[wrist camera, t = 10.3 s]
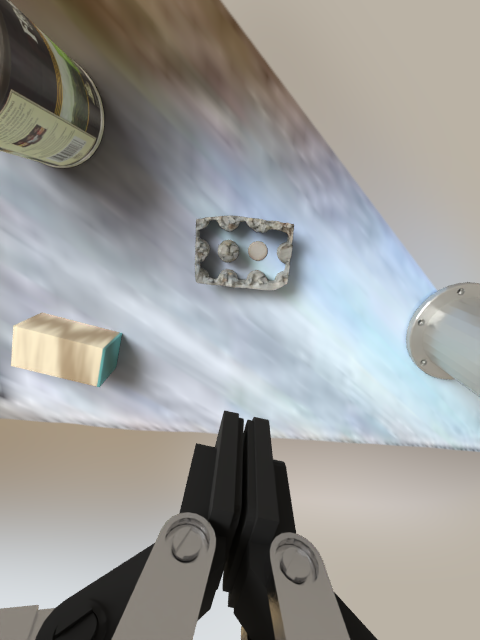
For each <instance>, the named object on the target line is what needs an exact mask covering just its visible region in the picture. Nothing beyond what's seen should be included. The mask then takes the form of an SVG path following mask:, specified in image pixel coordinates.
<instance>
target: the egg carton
mask: <svg viewBox="0 0 480 640" xmlns="http://www.w3.org/2000/svg"><path fill="white" fill-rule="evenodd" d="M212 220H217V222H218V223H219V225H220V227H221V228H222V229H224V230H226V231H233V230H235V229H236V228H237V227H238V225H239V223H240V222H244V221H246V223H247V224H248V226H249V227H250V228H252V229H253V230H254V231H256V232H261V233H265V232H267V231H268V230H269V229H274V230H279V231H283V232H285V233H287V234H288V240H287V242H285V243H282V244H281V245H280V246H279V247H278V249H277V256H278V258H279V259H280V260H281V261H282V262H283V263H285V264H286V265H285V270H284V271H282V272H280V273H278V274H277V275H276V277H275V280H274V281H269V280H267V278H266V276H265V274H264V273H263V272H261V271H259V270H254V271H252V272H250V273H249V274H248V276H247V279H245V280H243V279H238V278H237V274H236V273H235V272H234V271H233V270H230V269H225V270H223V271H221V273H220V274H219V276H218V278H210V277H209V273H208V272H207V271H206V270H205V269H203V268H201V267H200V263H201V262H203V261H204V260H205V258H206V257H207V256H208V254H209V252H210V247H209V244H208V243H207V242H206V241H205V240H203V239H200V230H201V229H204V228H205V227H207V226H208V224H209V222H210V221H212ZM293 230H294V224H289V223H281V222H279V221H266V220H263V219H255V218H247V217H240V216H219V217H206V218H203V219H197V220H196V245H195V277H196V282H197V283H202V284H209V285H221V286H229V287H236V288H248V289H258V290H276V289H278V288H280V287H282V286H284V285H286V284H287V282H288V274H289V268H290V258H291V254H292V246H293V245H292V239H293ZM267 252H268V251H267V247H266V245H265V244H264V243H263V242H260V241H256V242H253V243H252V244H251V245H250V246H249V248H248V254H249V256H250V257H251V258H252V259H253V260H256V261H260V260H262V259H264V258H265V257H266V255H267ZM238 255H239V248H238V245H237V244H236V243H235V242H234V241H232V240H225V241H223V242H222V243H221V244H220V245H219V246H218V256H219V257H220V259H221V260H223V261H224V262H232V261H234V260H236V259H237V257H238Z"/></svg>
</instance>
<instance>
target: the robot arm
mask: <svg viewBox="0 0 480 640" xmlns="http://www.w3.org/2000/svg"><path fill="white" fill-rule="evenodd" d="M406 344H407V350H408V353H409V356H410V357H411V359H412V361H413V362H414V363H415V364H416V365H417V366H418V367H419V368H420V369H421V370H423V371H424V372H425V373H427V374H429V375H431V376H433V377H436V378H440V379H449V380H452V379H456V380H457V381H459V382H460V383H461V384H463V385H464V386H465V387H467V388H468V389H469V390H471V391H472V392H474V393H475V394H476V395H478V396H479V397H480V284H479V283H470V282H467V283H458V284H454V285H450V286H447V287H445V288H443V289H441V290H439V291H437V292H435V293H434V294H433V295H431V296H430V297H428V298H427V299H426V300H425V301H424V302H423V303H422V304H421V305H420V306H419V308H418V309H417V310H416V311H415V313H414V315H413V317H412V318H411V320H410V323H409V326H408V329H407V335H406ZM243 426H244V419H242V418H239V414H238V413H233V412H229V411H224V413H223V417H222V421H221V425H220V429H219V433H218V437H217V441H216V445H215V447H211V446H206V445H201V444H197V443H196V446H195V450H194V455H193V459H192V463H191V467H190V471H189V476H188V480H187V484H186V488H185V492H184V497H183V501H182V505H181V509H180V513H179V514H177V515H175V516H173V517H172V518H170V519H169V520H168V521H167V522H166V523H165V525H164V526H163V528H162V529H161V531H160V533H159V535H158V538H157V540H156V542H155V543H154V544H152V545H151V546H149V547H148V548H146V549H145V550H143V551H142V552H140V553H138V554H137V555H136V556H134V557H132V558H131V559H129V560H128V561H126V562H124V563H123V564H121V565H120V566H118V567H116V568H115V569H113V570H112V571H110V572H109V573H107V574H105V575H104V576H102V577H101V578H99V579H98V580H96V581H95V582H93V583H91V584H90V585H88V586H87V587H85V588H84V589H82V590H81V591H79V592H77V593H76V594H74V595H73V596H71V597H69V598H68V599H67V600H65V601H64V602H62V603H61V604H60V605H59V606H58V607H56V608H52V609H42V610H38V605H33V606H23V607H13V608H4V609H0V640H192V639H193V635H194V631H195V627H196V623H197V621H198V620H199V619H200V618H201V617H202V616H203V615H204V614H205V613H206V612H207V611H209V610H210V608H211V605H212V602H213V598H214V595H215V592H216V590H217V589H218V586H219V583H220V580H221V577H222V574H223V591H226V592H229V596H228V607H232V608H234V614H235V616H236V617H237V619H238V620H239V622H240V624H241V625H242V627H241V640H377V639H376V637H374V635H373V634H372V633H371V632H370V631H369V630H368V629H367V628H366V626H365V625H363V623H362V622H361V621H360V620H359V619H358V618H357V617H356V616H355V614H354V613H353V612H352V611H351V610H350V609H349V608H348V607H347V606H346V605H345V603H344V602H343V601H342V600H341V599H340V598H339V597H338V596H337V595H336V594H335V593H334V592H333V589H332V586H331V583H330V580H329V577H328V574H327V571H326V569H325V565H324V563H323V560H322V558H321V556H320V554H319V552H318V551H317V549H316V548H315V547H314V545H313V544H312V543H311V542H309V541H308V540H307V539H306V538H304V537H302V536H300V535H298V534H296V530H295V523H294V517H293V511H292V504H291V497H290V490H289V484H288V477H287V471H286V466H285V463H284V462H282V461H277V460H273V456H272V446H271V436H270V426H269V420H266V419H261V418H257V417H254V418H253V420H252V421H251V420H247V423H246V426H245V430H244V433H243ZM223 570H224V573H223Z"/></svg>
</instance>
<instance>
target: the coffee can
mask: <svg viewBox="0 0 480 640" xmlns="http://www.w3.org/2000/svg"><path fill="white" fill-rule="evenodd" d="M103 130H104V110H103V106H102V101H101V98H100V95H99V93H98V91H97V89H96V87H95V85H94V83H93V81H92V80H91V79H90V77H89V76H88V75H87V73H86V72H85V71H84V70H83V69H82V68H81V67H80V66H79V65H78V64H77V63H75V62H74V61H73V60H71V59H70V58H69V57H68V56H67V55H66V54H65V53H64V52H63V51H62V50H61V49H60V48H59V47H57V46H56V45H55V44H54V43H53V42H52V41H51V40H50V39H49V38H48V37H47V36H46V35H45V34H44V33H43V32H42V31H41V30H40V29H38V28H37V27H36V26H35V25H34V24H33V23H32V22H31V21H30V20H29V19H28V18H27V17H26V16H25V15H24V14H23V13H22V12H21V11H20V10H19V9H17V8H16V7H15V6H14V5H13V4H12V3H11V2H10V1H9V0H0V151H3V152H6V153H9V154H13V155H17V156H20V157H24V158H27V159H31V160H34V161H38V162H41V163H43V164H45V165H48V166H52V167H57V168H69V167H74V166H77V165H79V164H81V163H83V162H84V161H86V160H87V159H89V158H90V157H91V156H92V155H93V153H94V152H95V151H96V149H97V148H98V146H99V144H100V142H101V138H102V135H103Z"/></svg>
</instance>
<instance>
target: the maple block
mask: <svg viewBox="0 0 480 640" xmlns="http://www.w3.org/2000/svg"><path fill="white" fill-rule="evenodd" d="M121 337H122V333H119V332H115V331H111V330H107V329H103V328H100V327H96V326H92V325H88V324H84V323H80V322H76V321H73V320H69V319H65V318H61V317H57V316H53V315H49V314H46V313H40V314H38V315H36V316H34V317H31V318H29V319H27V320H25V321H23V322H21V323H18V324H16V325H14V326H13V343H12V361H11V366H14V367H18V368H22V369H26V370H31V371H35V372H39V373H43V374H47V375H51V376H55V377H59V378H64V379H68V380H72V381H76V382H80V383H84V384H88V385H93V386H97V387H100V386H101V385H102V384H103V382H104V381H105V380H106V379H107V378H108V376H109V375H110V374H111V373H112V372H113V371H114V369H115V368H116V365H117V360H118V354H119V348H120V343H121Z"/></svg>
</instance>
